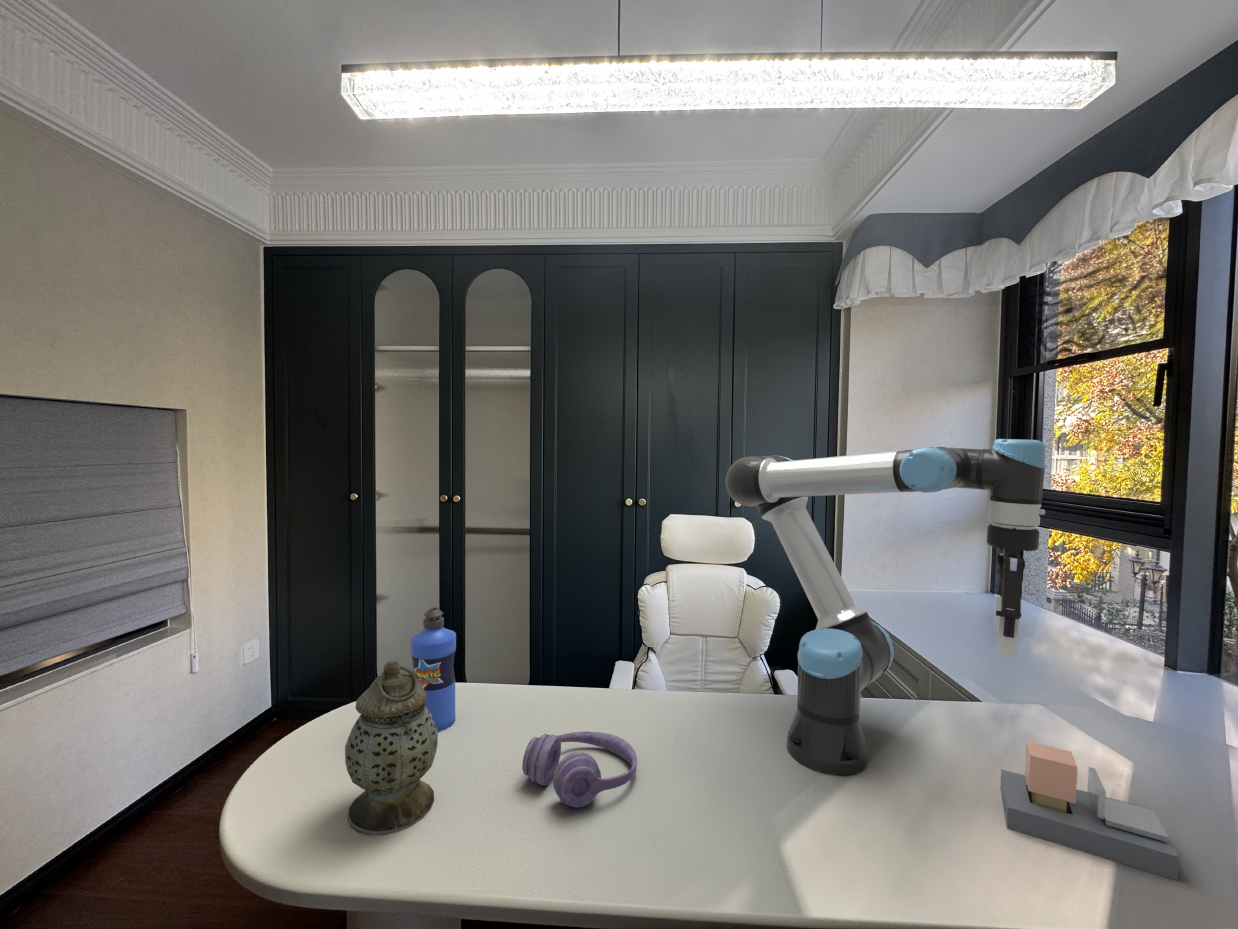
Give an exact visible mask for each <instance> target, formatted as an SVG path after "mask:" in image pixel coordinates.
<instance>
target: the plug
mask: <svg viewBox="0 0 1238 929" xmlns="http://www.w3.org/2000/svg"><path fill="white" fill-rule="evenodd" d="M1025 743H1026V744H1025V763H1024V775H1025V778H1026V782H1027V786H1028V791H1031V792H1032V796H1031V803H1032V804H1036V805H1039V806H1043V807H1046V808H1050V809H1053V810H1057V811H1061V812H1064V813H1066V807H1067V801H1068V802H1071V803H1075V804H1076V789H1077V783H1078V780H1077V779H1078V765H1077V762H1076V760H1075V758H1074V755H1073V753H1072V751H1070V750H1066V749H1062V748H1058V747H1054V746H1050V745H1049V746H1048V745H1045V744H1040V743H1038V742H1037V743H1036V742H1033V741H1032V742H1031V741H1027V740H1026V742H1025Z"/></svg>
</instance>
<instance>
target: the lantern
mask: <svg viewBox="0 0 1238 929" xmlns="http://www.w3.org/2000/svg"><path fill="white" fill-rule="evenodd" d="M426 700H427V692H426V691H425V690H424V689H423V688H422V687H421V686H420V685H419V684H418V680H417V677H416V675H415V674H414V670H412V669H411V668H408V667H406V666H402V665H400V663H399V662H398V661H396V660H389V661H388V662H386V663H385V664H384V667H383V671H382V672H381V674H380V675H379V676H377V677H376V678H375V679H374V681H373V682H372V683H371V685H369V687H368V688H367V689H366V690H365V691H363V693H362V694H361V695H360V696H359V697H358V698H357V699H356V701H355V710H356V711H357V713H358V714H360V715H359V716H358V718H357V720H356V721H355V723H354V724H353V726H352V728H351V730H350V733H349V735H348V738H347V741H346V743H345V745H344V762H345V768H346V771H347V774H348V776H349V778H350V780H351V783H353V785H354V784H355V785H356V786H358V787H359V788H361V789H362V790H363V792H362V793H360V794H359V795H358V796H357V797H356V798H355V799H354V800H353V801H352V802H351V803H350V805H349V807H348V808H347V822H348V824H349V826H350V828H351V829H352V830H354V831H355V832H357V833H358V834H364V835H367V836H384V835H389V834H394V833H397V832H401V831H402V830H405V829H407V828H409V827H412V826H413V825H414V824H416V823H418V822H419V821H421V820H422V819H423V818H425V817H426V816H427V814H428V813H429V812H430V811H431V809H432V807H433V805H434V803H435V795H434V794H435V793H434V792H435V791H434V790H433V788H432V787H431V785H430V784H428V783H426V782H425V781H422V780H421V779H422V778H423V777H424V776H425V775H426V774H427V772H428V771H429V770H430V769H431V768H432V766H433V764H434V763H433V762H434V759H435V757H436V754H437V749H438V740H439V739H438V735H439V732H438V730H437V727H436V724H435V721H434V719H433V716H432V715H431V713H430V711H429V710H428V709H427V707H426V706H425V702H426Z"/></svg>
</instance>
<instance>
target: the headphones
mask: <svg viewBox="0 0 1238 929" xmlns="http://www.w3.org/2000/svg"><path fill="white" fill-rule="evenodd" d="M562 743H583V744H587V745H591V746H595V747H599V748H602V749H604V750H607V751H609V752H611V753H612V754H614V755H617V756H619V757H620V758H622V759H624V760H625V761H627V763H629V765H630V766H631V768H630V769H629V770H628V772H622V773H621V774H618V775H615V776H611V777H602V773H601V770H600V768H599V767H600V766H599V764H598V762H597V761H596V759H595V758H594V757H593V756H592V755H590V754H589V753H587V752H584V751H576V752H575V751H574V752H572V753H569V754H567V755H566V756H564V757H563V758H562V759H560V758H561V751H562ZM523 754H524V755H523V758H522V768H521V769H522V772H523V775H525V776H527V777H529V779H530V780H531V782H532V783H536V784H538V785H539V786H540V785H541V786H547V785H550V784H551V782H552V785H553V786H552V787H553V789H554V793H555V795H556V796H557V797H558V798H559V800H560V801H561V803H563V804H565V805H566V806H568V807H569V806H570V807H572V808H583V807H585V806H587V805H588V804H590V803H591V802H592V801H594V799H595V797H596V796H597V795H599V793H602V792H604V791H607V790H613V789H617V788H619V787H621V786H623V785H626V784H627V783H628V782H630V781H631V780H632V779H633V778H634V777H635V776H636V772H637V767H638V766H637V765H638V758H637V757H638V756H637V753H636V750H635V749H634V748H633V746H632V745H631V744H630V743H629V742H627V740H625V739H624V738H621V737H620V736H618V735H615V734H611V733H605V732H599V731H575V732H569V733H564V734H560V735H559V734H558V735H557V734H556V735H555V734H549V733H548V734H547V733H544V734H542V735H541V736H540V737H537V736H534V737H532V738H531V739H530V740H529V742H528V743H527V746H526V749H525V751H524V753H523Z"/></svg>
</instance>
